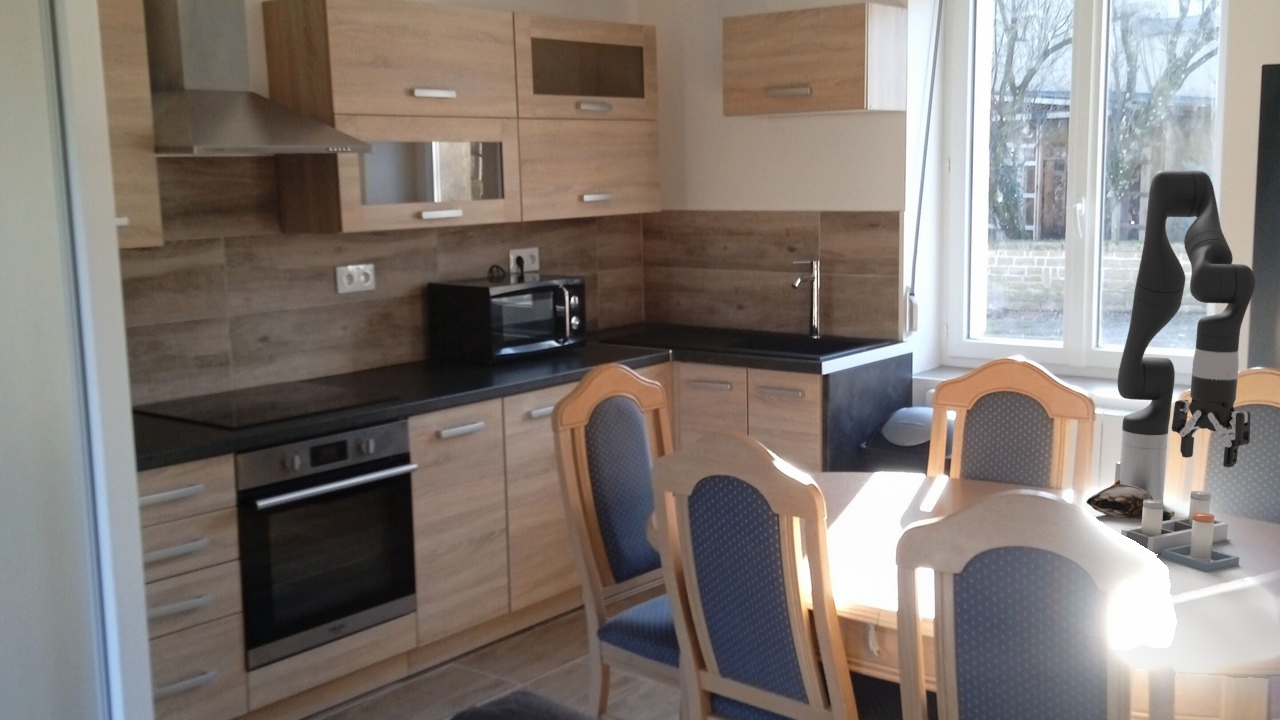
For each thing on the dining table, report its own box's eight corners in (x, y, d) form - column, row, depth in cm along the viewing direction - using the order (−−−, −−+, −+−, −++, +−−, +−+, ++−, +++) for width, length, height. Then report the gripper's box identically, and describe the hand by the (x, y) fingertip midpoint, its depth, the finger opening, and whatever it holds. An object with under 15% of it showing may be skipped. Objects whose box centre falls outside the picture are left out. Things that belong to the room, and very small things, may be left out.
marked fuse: (1185, 560, 231) (1188, 513, 229) (1197, 558, 233) (1201, 511, 231) (1202, 566, 228) (1206, 518, 226) (1214, 563, 230) (1218, 516, 228)
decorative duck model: (1186, 500, 253) (1125, 503, 249) (1179, 535, 255) (1118, 538, 250) (1136, 476, 267) (1078, 478, 263) (1130, 509, 269) (1072, 512, 264)
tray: (1160, 563, 232) (1161, 550, 232) (1191, 556, 237) (1192, 543, 236) (1207, 578, 224) (1208, 564, 224) (1238, 571, 228) (1239, 557, 228)
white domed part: (1183, 536, 246) (1186, 492, 245) (1195, 534, 248) (1198, 490, 246) (1199, 541, 243) (1203, 496, 241) (1211, 538, 245) (1214, 494, 243)
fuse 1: (1135, 546, 239) (1139, 500, 238) (1148, 543, 241) (1151, 498, 239) (1151, 551, 236) (1155, 505, 235) (1164, 548, 238) (1167, 502, 236)
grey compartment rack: (1115, 551, 240) (1117, 528, 239) (1193, 535, 251) (1194, 513, 251) (1152, 562, 233) (1154, 540, 232) (1230, 545, 244) (1232, 524, 243)
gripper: (1264, 378, 221) (1256, 467, 223) (1193, 367, 233) (1186, 451, 235) (1237, 382, 217) (1229, 472, 219) (1167, 370, 229) (1160, 455, 232)
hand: (1207, 461), depth 227 cm, fingers open, 8 cm apart
